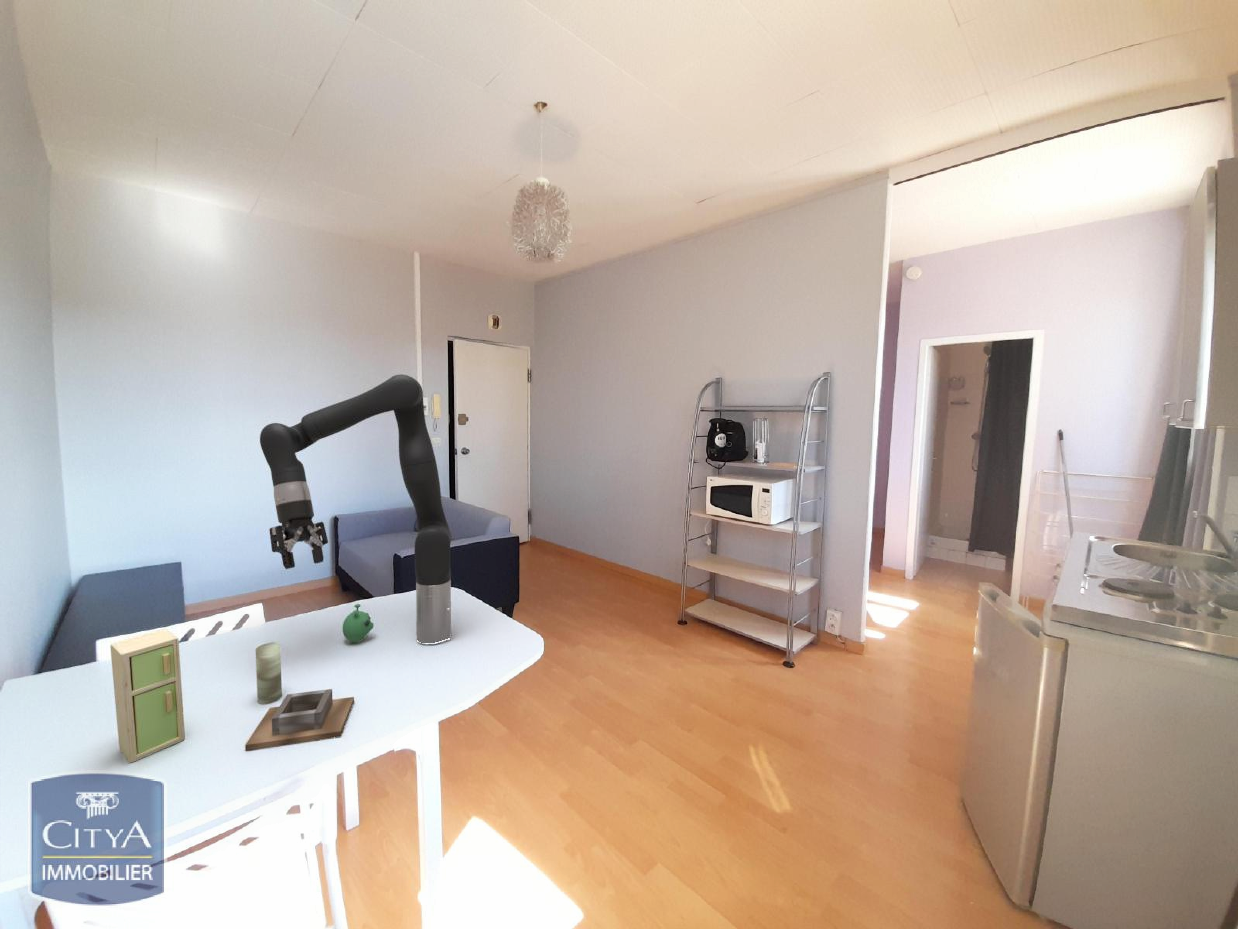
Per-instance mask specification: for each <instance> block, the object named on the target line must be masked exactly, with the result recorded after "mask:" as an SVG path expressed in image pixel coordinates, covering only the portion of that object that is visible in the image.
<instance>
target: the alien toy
mask: <svg viewBox="0 0 1238 929" xmlns="http://www.w3.org/2000/svg"><path fill="white" fill-rule="evenodd" d="M360 607H361V604H360V603H356V604H355V605H354V608H356V609H355V610H353V611H352V612H349V614H348V615H347V616H346V617H345V619H344V620H343V623H342V633H343V636H344V638H345V639H346V640H347V641H348V642H351V643H359V642H362V641H363V640H365V639H366V638H367V637H368V634H369V633H370V632H371V631H372V630H373V629H374V627H375V626H374V622H372V621H371V616H370V614H369V613H368V612H365V611H363V610H362V611H361V610H359V608H360Z"/></svg>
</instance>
